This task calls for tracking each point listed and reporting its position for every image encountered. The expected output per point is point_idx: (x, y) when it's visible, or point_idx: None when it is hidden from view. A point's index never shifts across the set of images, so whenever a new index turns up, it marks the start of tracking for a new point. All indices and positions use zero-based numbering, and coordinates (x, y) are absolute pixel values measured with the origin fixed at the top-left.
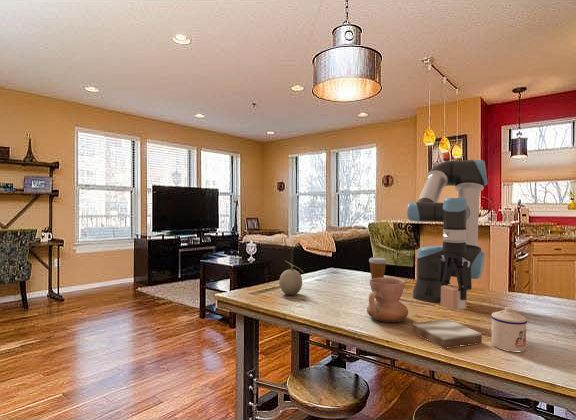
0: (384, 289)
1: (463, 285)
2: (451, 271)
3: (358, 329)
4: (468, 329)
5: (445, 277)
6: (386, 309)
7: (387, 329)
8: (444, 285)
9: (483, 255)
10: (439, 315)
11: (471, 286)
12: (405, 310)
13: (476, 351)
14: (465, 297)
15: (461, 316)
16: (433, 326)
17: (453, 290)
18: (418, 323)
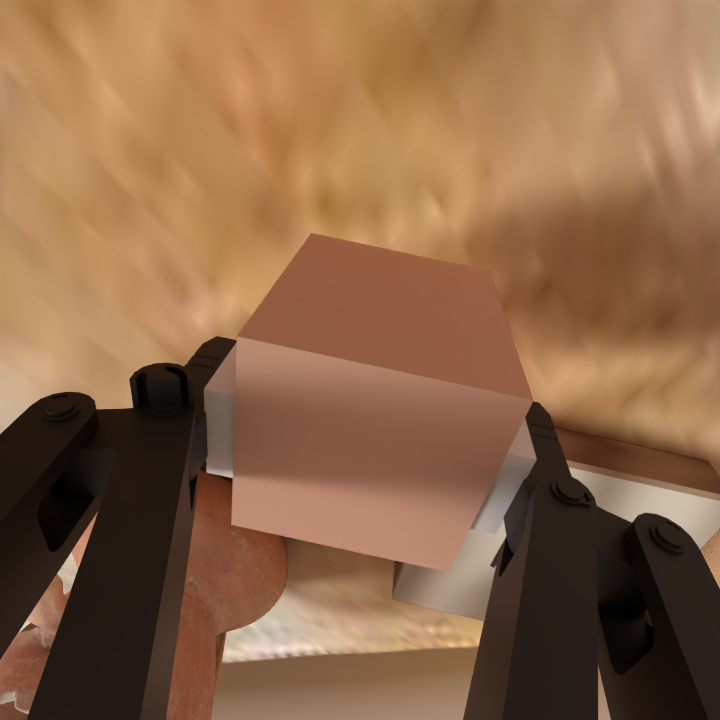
0: None
1: (599, 639)
2: (147, 686)
3: (277, 643)
4: (645, 502)
5: (182, 594)
6: (237, 627)
7: (319, 593)
8: (210, 461)
9: None
10: (236, 230)
11: (710, 574)
12: (260, 558)
13: (716, 548)
14: (548, 432)
15: (325, 63)
16: (482, 578)
17: (449, 564)
18: (409, 589)
